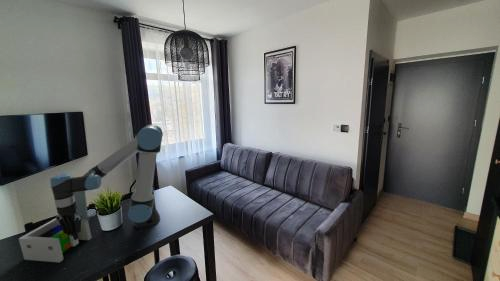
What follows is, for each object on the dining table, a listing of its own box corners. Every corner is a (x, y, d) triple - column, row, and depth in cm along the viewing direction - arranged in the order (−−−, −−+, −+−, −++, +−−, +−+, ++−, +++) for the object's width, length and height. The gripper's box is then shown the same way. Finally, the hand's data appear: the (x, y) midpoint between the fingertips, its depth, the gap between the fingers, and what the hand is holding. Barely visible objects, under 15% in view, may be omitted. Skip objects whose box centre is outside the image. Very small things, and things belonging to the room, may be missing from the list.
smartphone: (100, 205, 153) (94, 215, 140) (100, 206, 153) (94, 216, 140) (88, 207, 151) (81, 217, 137) (89, 208, 151) (81, 218, 137)
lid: (84, 220, 113) (88, 218, 115) (80, 186, 110) (84, 185, 113) (56, 219, 115) (60, 217, 117) (51, 185, 112) (56, 184, 115)
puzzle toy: (61, 240, 115) (58, 225, 113) (77, 242, 114) (73, 226, 112) (42, 254, 106) (37, 237, 104) (58, 255, 104) (54, 238, 102)
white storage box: (94, 237, 118) (90, 216, 115) (60, 263, 99) (54, 238, 96) (62, 235, 120) (57, 214, 117) (23, 260, 101) (16, 236, 99)
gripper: (84, 201, 106) (92, 240, 111) (62, 200, 108) (71, 239, 112) (70, 208, 99) (79, 250, 104) (46, 207, 100) (57, 248, 105)
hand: (75, 244), depth 108 cm, fingers closed
